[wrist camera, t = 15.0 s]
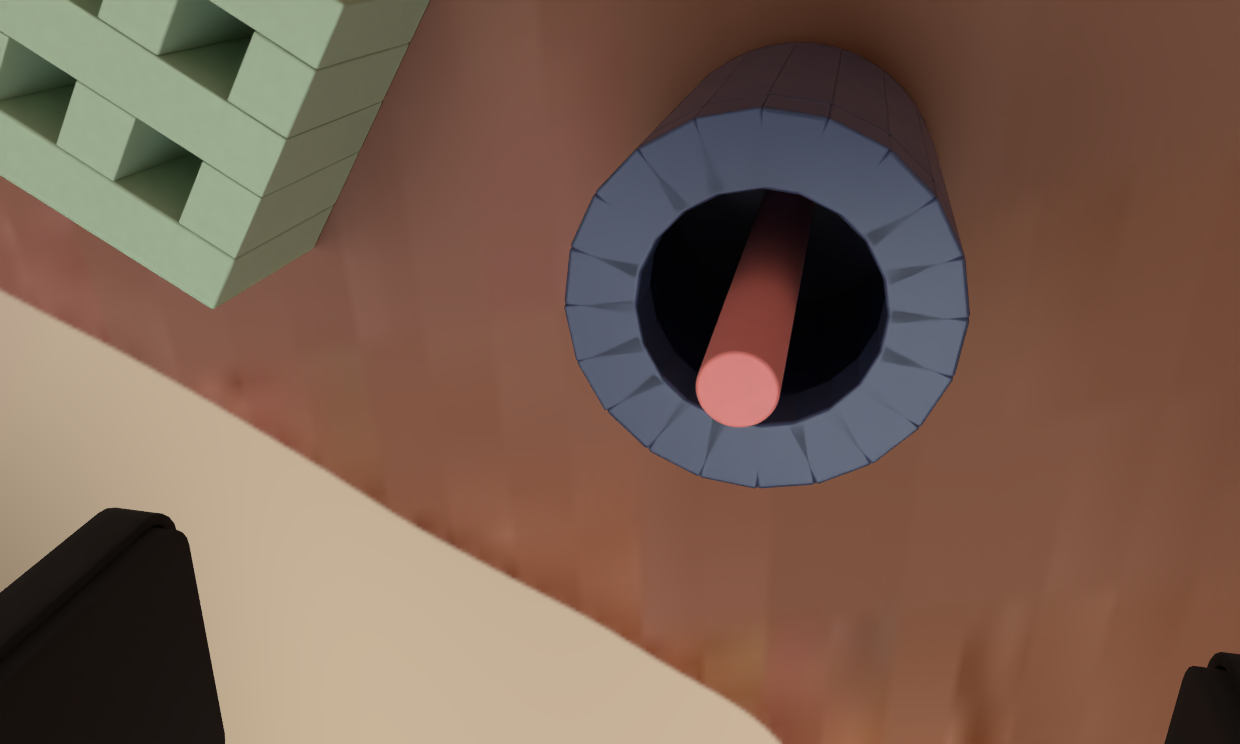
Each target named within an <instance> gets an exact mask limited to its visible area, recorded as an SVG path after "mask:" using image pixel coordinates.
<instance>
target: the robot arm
mask: <svg viewBox="0 0 1240 744" xmlns="http://www.w3.org/2000/svg"><path fill="white" fill-rule="evenodd" d="M0 744H225V733H224V728H223V722H222V717H221V712H220V706H219V701H218V696H217V690H216V685H215V680H214V675H213V670H212V664H211V659H210V653H209V648H208V643H207V637H206V632H205V627H204V621H203V616H202V611H201V605H200V600H199V595H198V589H197V584H196V579H195V573H194V568H193V563H192V558H191V552H190V547H189V543H188V540H187V537H186V536H185V535H184V534H183V533H182V532H180V531H178V530H176V528H175V525H174V523H173V521H172V520H171V519H170V518H169V517H168V516H166V515H163V514H160V513H151V512H144V511H136V510H129V509H121V508H107V509H105V510H103V511H102V512H100V513H98V514H97V515H96V516H94V517H93V518H92V519H91V520H89V521H88V522H87V523H86V524H84V525H83V526H82V527H81V528H80V529H78V530H77V531H76V532H75V533H73V534H72V535H71V536H70V537H68V538H67V539H66V540H65V541H64V542H62V543H61V544H60V545H58V546H57V547H56V548H55V549H54V550H52V551H51V552H50V553H49V554H47V555H46V556H45V557H44V558H43V559H41V560H40V561H39V562H38V563H36V564H35V565H34V566H33V567H31V568H30V569H29V570H28V571H26V572H25V573H24V574H23V575H22V576H20V577H19V578H18V579H17V580H15V581H14V582H13V583H12V584H10V585H9V586H8V587H7V588H5V589H4V590H3V591H2V592H1V593H0ZM1165 744H1240V654H1232V653H1224V652H1220V653H1216V654H1215V655H1214V656H1213V657H1212V658H1211V660H1210V661H1209V664H1208V666H1207V668H1205V667H1197V666H1192V667H1189V668H1188V670H1187V671H1186V672H1185V675H1184V678H1183V680H1182V684H1181V687H1180V691H1179V694H1178V698H1177V701H1176V705H1175V708H1174V712H1173V715H1172V719H1171V722H1170V726H1169V730H1168V733H1167V737H1166V740H1165Z"/></svg>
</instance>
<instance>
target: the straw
mask: <svg viewBox="0 0 1240 744" xmlns="http://www.w3.org/2000/svg"><path fill="white" fill-rule="evenodd" d="M814 206H815V202H813V201H811V200H809V199H807V198H805V197H803V196H801V195H798V194H792V193H786V192H780V191H773V190H767V189H766V191H765V193H764V196H763V199H762V202H761V204H760V207H759V210H758V212H757V215H756V218H755V221H754V223H753V226H752V229H751V231H750V234H749V237H748V240H747V242H746V245H745V248H744V250H743V253H742V256H741V259H740V261H739V264H738V267H737V269H736V272H735V275H734V278H733V280H732V283H731V286H730V288H729V291H728V294H727V297H726V299H725V302H724V305H723V308H722V310H721V313H720V316H719V318H718V321H717V324H716V327H715V329H714V332H713V335H712V337H711V340H710V343H709V346H708V348H707V351H706V354H705V356H704V359H703V362H702V365H701V367H700V370H699V373H698V376H697V379H696V394H697V398H698V401H699V403H700V405H701V406H702V408H703V409H704V411H705V412H706V413H707V414H708V415H709V416H710V417H711V418H713V419H714V420H715V421H717V422H719V423H721V424H724V425H727V426H731V427H748V426H752V425H756V424H758V423H760V422H762V421H763V420H765V419H766V418H767V417H769V416H770V415H771V413H772V412H773V411H774V409H775V408H776V406H777V404H778V401H779V397H780V391H781V386H782V380H783V375H784V370H785V364H786V359H787V353H788V348H789V342H790V337H791V331H792V326H793V321H794V315H795V310H796V304H797V299H798V293H799V288H800V282H801V277H802V271H803V266H804V261H805V255H806V250H807V244H808V239H809V233H810V228H811V222H812V217H813V212H814Z"/></svg>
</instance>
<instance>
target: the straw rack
mask: <svg viewBox="0 0 1240 744" xmlns="http://www.w3.org/2000/svg"><path fill="white" fill-rule="evenodd" d="M429 1H430V0H0V175H1V176H2V177H4V178H5V179H7V180H9V181H10V182H12V183H13V184H15V185H16V186H18V187H20V188H21V189H23V190H24V191H26V192H28V193H29V194H31V195H32V196H34V197H35V198H37V199H39V200H40V201H42V202H43V203H45V204H46V205H48V206H50V207H51V208H53V209H54V210H56V211H58V212H59V213H61V214H62V215H64V216H65V217H67V218H69V219H70V220H72V221H73V222H75V223H77V224H78V225H80V226H81V227H83V228H84V229H86V230H88V231H89V232H91V233H92V234H94V235H95V236H97V237H99V238H100V239H102V240H103V241H105V242H107V243H108V244H110V245H111V246H113V247H114V248H116V249H118V250H119V251H121V252H122V253H124V254H125V255H127V256H129V257H130V258H132V259H133V260H135V261H137V262H138V263H140V264H141V265H143V266H144V267H146V268H148V269H149V270H151V271H152V272H154V273H156V274H157V275H159V276H160V277H162V278H163V279H165V280H167V281H168V282H170V283H171V284H173V285H174V286H176V287H178V288H179V289H181V290H182V291H184V292H186V293H187V294H189V295H190V296H192V297H193V298H195V299H197V300H198V301H200V302H201V303H203V304H205V305H206V306H208V307H209V308H211V309H215V308H216V307H218V306H220V305H221V304H223V303H225V302H226V301H228V300H229V299H231V298H233V297H234V296H236V295H238V294H239V293H241V292H243V291H244V290H246V289H247V288H249V287H251V286H252V285H254V284H256V283H257V282H259V281H261V280H262V279H264V278H266V277H267V276H269V275H270V274H272V273H274V272H275V271H277V270H279V269H280V268H282V267H284V266H285V265H287V264H288V263H290V262H292V261H293V260H295V259H297V258H298V257H300V256H302V255H303V254H305V253H307V252H308V251H310V250H311V249H313V248H314V246H315V244H316V242H317V240H318V238H319V236H320V233H321V231H322V229H323V227H324V225H325V223H326V221H327V218H328V216H329V214H330V212H331V210H332V208H333V204H335V202H336V200H337V198H338V196H339V194H340V192H341V190H342V187H343V185H344V183H345V181H346V179H347V177H348V175H349V172H350V170H351V168H352V166H353V164H354V162H355V160H356V158H357V155H358V153H359V152H358V151H360V149H361V147H362V145H363V143H364V140H365V138H366V136H367V134H368V132H369V130H370V128H371V126H372V123H373V121H374V119H375V117H376V115H377V113H378V111H379V108H380V106H381V104H382V100H383V99H384V97H385V95H386V93H387V91H388V89H389V86H390V84H391V82H392V80H393V78H394V76H395V74H396V71H397V69H398V67H399V65H400V63H401V61H402V59H403V56H404V54H405V52H406V50H407V48H408V46H409V44H408V43H409V42H410V41H411V39H412V37H413V35H414V33H415V31H416V29H417V27H418V24H419V22H420V20H421V18H422V16H423V14H424V12H425V9H426V7H427V5H428V3H429Z"/></svg>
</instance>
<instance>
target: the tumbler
mask: <svg viewBox="0 0 1240 744" xmlns="http://www.w3.org/2000/svg"><path fill="white" fill-rule="evenodd" d="M766 189H767V190H773V191H780V192H786V193H792V194H798V195H801V196H803V197H805V198H807V199H809V200H811V201H813V202H815V206H814V212H813V217H812V222H811V228H810V233H809V239H808V244H807V250H806V255H805V261H804V266H803V271H802V277H801V282H800V288H799V293H798V299H797V304H796V310H795V315H794V321H793V326H792V331H791V337H790V342H789V348H788V353H787V359H786V364H785V370H784V375H783V380H782V386H781V391H780V397H779V401H778V404H777V406H776V408H775V409H774V411H773V412H772V413H771V415H770V416H769V417H767V418H766V419H765V420H763V421H762V422H760V423H758V424H756V425H752V426H748V427H731V426H727V425H724V424H721V423H719V422H717V421H715V420H714V419H713V418H711V417H710V416H709V415H708V414H707V413H706V412H705V411H704V409H703V408H702V406H701V405H700V403H699V401H698V398H697V394H696V379H697V376H698V373H699V370H700V367H701V365H702V362H703V359H704V356H705V354H706V351H707V348H708V346H709V343H710V340H711V337H712V335H713V332H714V329H715V327H716V324H717V321H718V318H719V316H720V313H721V310H722V308H723V305H724V302H725V299H726V297H727V294H728V291H729V288H730V286H731V283H732V280H733V278H734V275H735V272H736V269H737V267H738V264H739V261H740V259H741V256H742V253H743V250H744V248H745V245H746V242H747V240H748V237H749V234H750V231H751V229H752V226H753V223H754V221H755V218H756V215H757V212H758V210H759V207H760V204H761V202H762V199H763V196H764V193H765V191H766ZM565 303H566V305H565V312H566V316H567V321H568V325H569V330H570V334H571V338H572V343H573V347H574V352H575V356H576V360H577V361H578V364H579V366H580V368H581V370H582V371H583V373H584V375H585V376H586V378H587V380H588V382H589V383H590V385H591V387H592V389H593V390H594V392H595V394H596V395H597V397H598V399H599V401H600V402H601V404H602V406H603V408H604V409H605V410H608V412H609V414H611V415H612V416H613V417H614V418H615V419H616V420H617V421H618V422H619V423H620V424H621V425H622V426H623V427H624V428H625V429H626V430H628V431H629V432H630V433H631V434H632V435H633V436H634V437H635V438H636V439H637V440H638V441H639V442H640V443H641V444H642V445H643V446H645V447H646V448H648V447H649V451H650V452H652V453H654V454H656V455H658V456H660V457H662V458H664V459H666V460H668V461H670V462H672V463H673V464H675V465H677V466H679V467H681V468H683V469H685V470H687V471H689V472H691V473H693V474H695V475H697V476H699V475H700V476H701V477H702V478H707V479H712V480H717V481H722V482H726V483H731V484H736V485H741V486H746V487H751V488H756V487H757V486H758V487H759V488H770V487H784V486H798V485H812V484H815V482H816V483H821V482H824V481H827V480H830V479H832V478H835V477H838V476H840V475H843V474H846V473H849V472H851V471H854V470H857V469H859V468H862V467H865V466H867V465H869V464H871V463H874V462H876V461H877V460H878V459H880V458H881V457H882V456H884V455H885V454H886V453H888V452H889V451H890V450H891V449H893V448H894V447H895V446H897V445H898V444H899V443H901V442H902V441H903V440H905V439H906V438H907V437H908V436H910V435H911V434H912V433H914V432H915V431H916V430H918V428H919V426H921V425H922V424H923V423H924V421H925V420H926V418H927V417H928V415H929V414H930V412H931V411H932V409H933V408H934V406H935V405H936V403H937V402H938V401H939V399H940V398H941V396H942V395H943V393H944V392H945V390H946V389H947V387H948V386H949V384H950V383H951V382H952V380H953V376H954V375H955V372H956V369H957V365H958V361H959V358H960V354H961V350H962V346H963V343H964V339H965V335H966V332H967V328H968V324H969V318H968V317H969V315H970V310H969V298H968V286H967V274H966V262H965V256H964V252H963V249H962V245H961V241H960V238H959V234H958V230H957V227H956V223H955V220H954V216H953V212H952V209H951V205H950V201H949V198H948V194H947V191H946V187H945V183H944V180H943V176H942V172H941V169H940V165H939V162H938V158H937V154H936V151H935V147H934V144H933V141H932V139H931V137H930V135H929V132H928V130H927V128H926V125H925V122H924V120H923V118H922V116H921V114H920V112H919V110H918V108H917V106H916V105H915V104H914V102H913V101H912V100H911V98H910V97H909V95H908V94H907V93H906V91H905V90H904V89H903V88H902V87H901V86H900V85H899V84H898V83H897V82H896V81H895V80H894V79H893V78H892V77H891V76H890V75H889V74H887V73H886V72H885V71H883V70H882V69H881V68H880V67H878V66H877V65H875V64H874V63H872V62H870V61H868V60H867V59H865V58H863V57H861V56H859V55H857V54H854V53H852V52H849V51H847V50H844V49H841V48H837V47H833V46H829V45H825V44H817V43H807V42H797V43H782V44H776V45H770V46H766V47H762V48H759V49H756V50H753V51H749V52H747V53H745V54H743V55H741V56H739V57H736V58H734V59H732V60H731V61H729V62H727V63H726V64H724V65H723V66H721V67H719V68H718V69H716V70H714V71H712V72H711V73H710V74H709V75H707V76H706V77H705V79H704V80H703V81H702V82H701V83H700V84H699V85H698V86H697V87H696V88H695V89H694V90H693V91H692V92H691V93H690V94H689V95H688V96H687V97H686V98H685V99H684V100H683V101H682V102H681V103H680V104H679V105H678V106H677V107H676V108H675V109H674V110H673V111H672V112H671V113H670V115H669V116H668V117H667V118H666V119H665V120H664V121H663V122H662V123H661V124H660V125H659V126H658V127H657V128H656V129H655V130H654V131H653V132H652V133H651V134H650V135H649V136H648V137H647V138H646V139H645V140H644V141H643V142H642V143H641V144H640V145H639V146H638V147H637V148H636V149H635V151H634V152H633V153H632V154H631V155H630V156H629V157H628V158H627V159H626V160H625V161H624V162H623V163H622V164H621V165H620V166H619V167H618V168H617V170H616V171H615V172H614V173H613V174H612V175H611V176H610V177H609V178H608V179H607V180H606V181H605V182H604V183H603V184H602V185H601V186H600V187H599V189H598V190H597V191H596V194H595V195H594V196H593V198H592V200H591V202H590V204H589V206H588V208H587V211H586V213H585V215H584V217H583V219H582V222H581V224H580V226H579V228H578V230H577V233H576V235H575V237H574V239H573V241H572V248H571V249H570V253H569V263H568V273H567V283H566V294H565Z"/></svg>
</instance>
